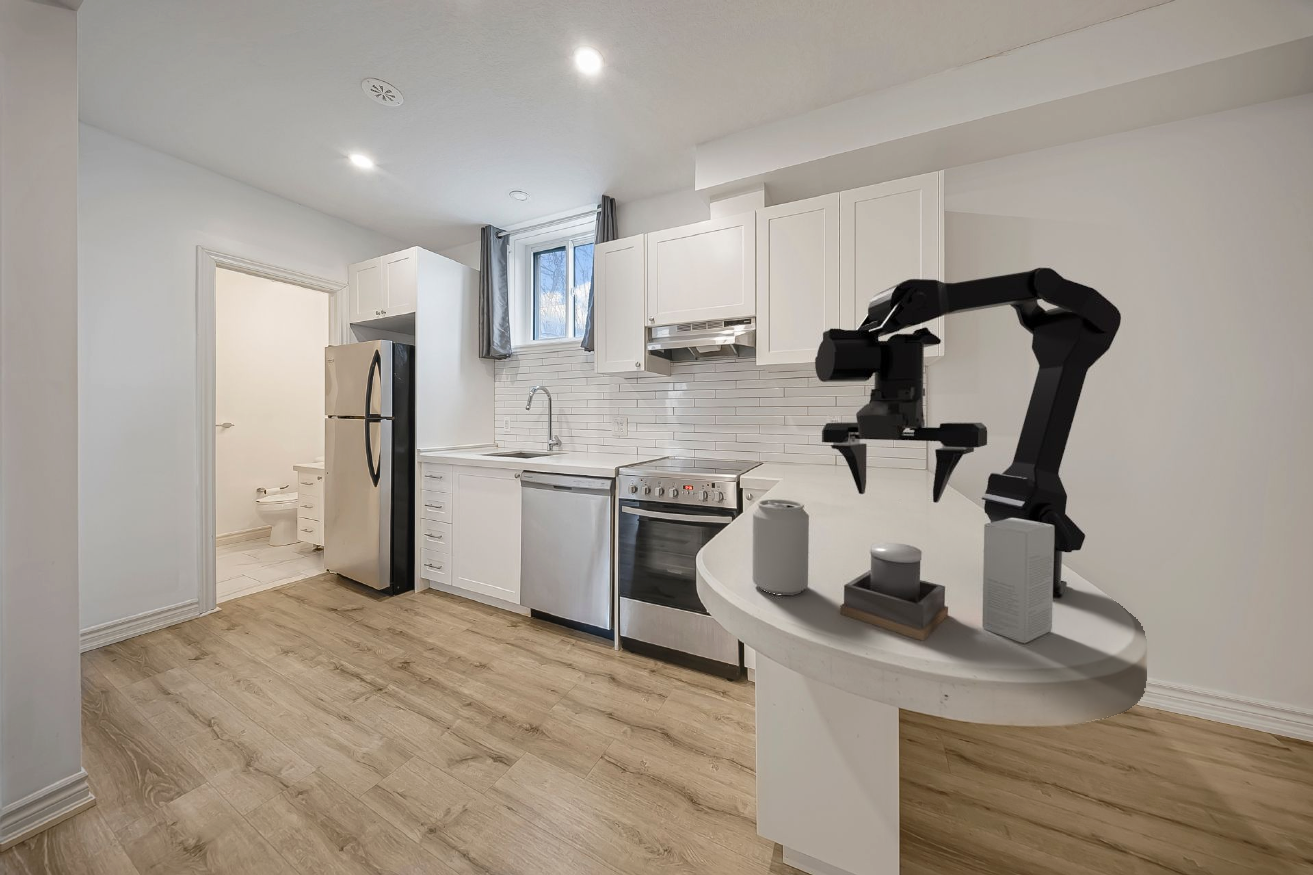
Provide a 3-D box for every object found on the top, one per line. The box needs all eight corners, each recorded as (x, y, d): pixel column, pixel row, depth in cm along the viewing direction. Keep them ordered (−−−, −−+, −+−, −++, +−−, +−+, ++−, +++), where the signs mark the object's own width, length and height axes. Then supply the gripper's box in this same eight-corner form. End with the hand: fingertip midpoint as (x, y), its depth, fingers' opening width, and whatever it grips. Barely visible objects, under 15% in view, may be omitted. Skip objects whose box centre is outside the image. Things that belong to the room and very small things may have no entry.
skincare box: (1008, 616, 53) (1011, 516, 52) (1052, 632, 49) (1057, 524, 49) (979, 628, 50) (982, 522, 50) (1024, 645, 46) (1028, 531, 46)
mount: (870, 593, 60) (871, 567, 60) (947, 614, 54) (948, 586, 53) (840, 613, 54) (840, 585, 54) (923, 641, 47) (924, 608, 47)
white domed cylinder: (879, 593, 58) (880, 539, 57) (926, 606, 54) (927, 548, 53) (861, 605, 54) (862, 548, 54) (911, 620, 50) (912, 559, 50)
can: (811, 600, 58) (813, 508, 57) (752, 596, 59) (753, 506, 59) (804, 579, 65) (805, 498, 65) (752, 576, 67) (752, 496, 66)
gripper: (803, 383, 60) (803, 497, 61) (968, 372, 47) (965, 519, 48) (839, 386, 68) (838, 487, 69) (989, 377, 55) (986, 503, 56)
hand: (897, 497), depth 60 cm, fingers open, 9 cm apart
